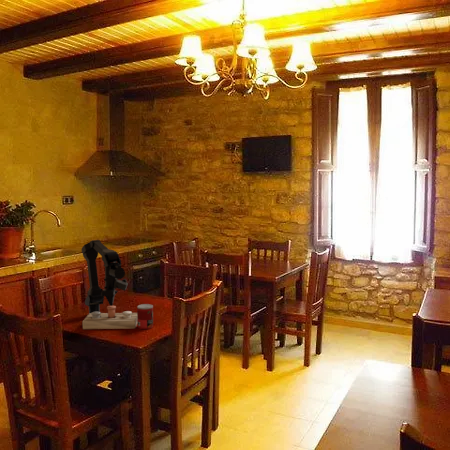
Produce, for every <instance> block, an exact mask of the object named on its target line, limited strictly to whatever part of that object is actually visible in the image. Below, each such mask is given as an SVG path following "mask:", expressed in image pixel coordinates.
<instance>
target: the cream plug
mask: <svg viewBox="0 0 450 450" xmlns="http://www.w3.org/2000/svg"><path fill="white" fill-rule="evenodd" d="M122 313H123V315H124V318H131V314H132V313H133V312H132V311H130V310H126V311H122Z"/></svg>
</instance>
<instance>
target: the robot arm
mask: <svg viewBox="0 0 450 450" xmlns="http://www.w3.org/2000/svg"><path fill="white" fill-rule="evenodd" d="M81 253H82V257H83V259H84V260H85V261H86V265H87V275H88V284H89V288H88V290H87V295H86V298H85V300H84V304H85V306H87V307H88V314H87V316H88V315H89V314H90V313H92V312H96V311H98V312H101V311H100V310H101V309H100V305H104V300H105V298H106V300H107V302H108V304H109V306H114V300H115V296H116V295H117V293H118V291H119V290H116V289H120V290H122V291H126V290H127V288H128V285H129V283H128V281H127V279H126V278H124V277H125V275H126V271H125V269H124V268H123V267H122V259H121V258H120V256H119V254H118V251H115V250H114V249H109V247H107V246H105V245H104V244H103V243H102V241H101V240H99V239H93V240H89V242H88V243H85V244H84V245H83V246H82V247H81ZM99 255H100V256H101V260H102V262H103V263H104V264H103V267H104V279H103V280H104V283H105V284H104V288H101V287H100V284H99V276H98V267H97V258H98V257H99Z"/></svg>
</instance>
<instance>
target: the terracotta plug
mask: <svg viewBox="0 0 450 450" xmlns="http://www.w3.org/2000/svg"><path fill="white" fill-rule="evenodd" d="M106 309H107V313H108V318H115V313H116V309H117V306H116V305H112V306H110V305H108V306H107V307H106Z"/></svg>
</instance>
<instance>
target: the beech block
mask: <svg viewBox="0 0 450 450" xmlns="http://www.w3.org/2000/svg"><path fill="white" fill-rule="evenodd" d="M88 314H89V313H88ZM88 314H87V315H86V316H85V318H84V319H83V320H82V330H104V329H106V330H111V329H112V330H118V329H119V330H121V329H124V330H126V329H136V328H137V326H138V321H137V312H132V314H131V318H124V315H123V312H115V318H108V312H106V313H104V312H101V314H100V318H92V315H91V313H90V314H89V315H88Z"/></svg>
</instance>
